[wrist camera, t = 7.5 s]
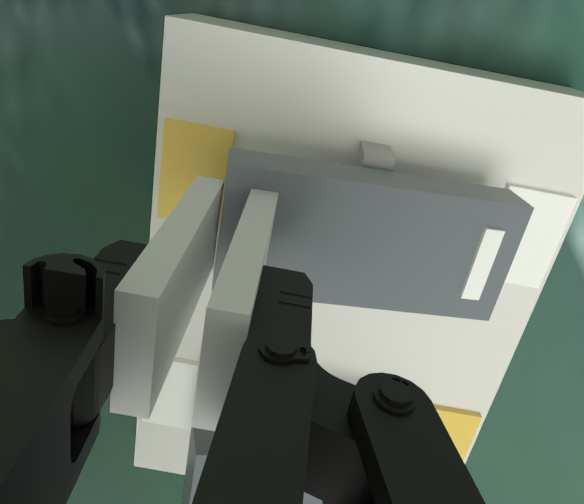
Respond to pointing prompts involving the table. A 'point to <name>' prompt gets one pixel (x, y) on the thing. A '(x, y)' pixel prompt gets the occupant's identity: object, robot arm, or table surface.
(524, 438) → the table surface
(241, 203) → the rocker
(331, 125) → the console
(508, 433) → the table surface
